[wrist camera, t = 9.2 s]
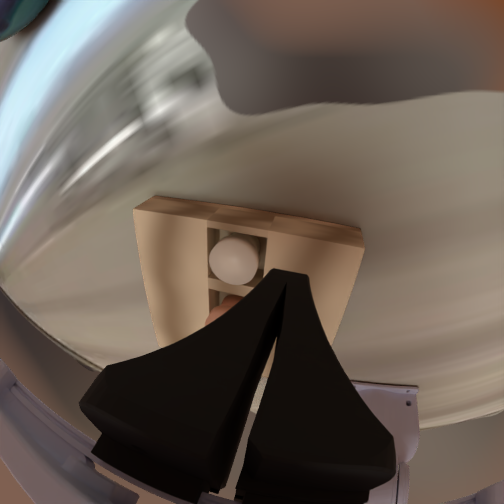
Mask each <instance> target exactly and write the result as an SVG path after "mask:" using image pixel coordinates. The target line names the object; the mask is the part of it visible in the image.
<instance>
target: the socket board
mask: <svg viewBox="0 0 504 504" xmlns="http://www.w3.org/2000/svg"><path fill="white" fill-rule="evenodd" d="M133 215H134V223H135V231H136V238H137V245H138V251H139V257H140V263H141V269H142V274H143V280H144V285H145V290H146V295H147V299H148V304H149V308H150V313H151V317H152V321H153V326H154V330H155V334H156V337H157V341H158V345H159V346H160V347H166V346H168V345H170V344H173V343H175V342H177V341H179V340H181V339H183V338H185V337H187V336H189V335H191V334H192V333H194V332H196V331H198V330H200V329H201V328H203V327H205V321H206V319H207V317H208V316H209V314H210V312H211V310H212V309H213V308H215V307H217V306H220V305H221V303H222V301H223V299H224V298H225V297H226V296H228V295H238V296H241V297H243V298H244V297H245V296H246V295H247V294H248V293H249V292H250V291H251V290H252V289H253V288H254V287H255V286H256V285H257V284H258V283H259V282H260V281H261V280H262V279H263V278H264V277H265V276H266V274H267V273H268V272H269V271H270V270H271V269H273V268H276V269H281V270H286V271H292V272H297V273H302V274H307V275H308V276H309V279H310V287H311V292H312V296H313V300H314V303H315V307H316V310H317V313H318V316H319V319H320V321H321V324H322V327H323V329H324V332H325V334H326V336H327V339H328V341H329V343H330V345H332V343H333V340H334V338H335V335H336V333H337V330H338V328H339V325H340V322H341V320H342V317H343V314H344V312H345V309H346V306H347V303H348V300H349V298H350V295H351V292H352V289H353V286H354V283H355V280H356V277H357V274H358V270H359V267H360V264H361V261H362V257H363V254H364V251H365V246H364V242H363V238H362V233H361V229H360V228H355V227H350V226H345V225H340V224H335V223H330V222H324V221H319V220H314V219H308V218H303V217H297V216H291V215H285V214H280V213H274V212H268V211H261V210H255V209H249V208H242V207H236V206H229V205H222V204H215V203H208V202H200V201H193V200H185V199H177V198H169V197H161V196H153V197H152V198H150V199H148V200H147V201H145V202H143V203H142V204H140V205H138V206H137V207H135V208H134V209H133ZM233 232H238V233H243V234H249V235H255V236H256V237H257V238H258V240H259V242H260V250H259V256H260V263H259V267H258V269H257V271H256V273H255V275H254V277H253V278H252V280H251V281H249V282H248V283H246V284H242V285H232V284H228V283H226V282H224V281H222V280H220V279H219V278H218V277H217V276H216V275H215V274H214V273H213V271H212V269H211V267H210V264H209V255H210V252H211V251H212V249H213V248H214V247H215V245H216V244H217V243H218V242H219V241H220V240H221V239H222V238H224V237H226V236H230V235H231V234H232V233H233ZM276 339H277V337H276ZM275 345H276V340H275V343H274V345H273V348H272V351H271V353H270V356H269V358H268V361H267V364H266V366H265V369H264V371H263V374H262V377H266V378H268V377H269V373H270V370H271V366H272V363H273V358H274V352H275Z"/></svg>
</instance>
